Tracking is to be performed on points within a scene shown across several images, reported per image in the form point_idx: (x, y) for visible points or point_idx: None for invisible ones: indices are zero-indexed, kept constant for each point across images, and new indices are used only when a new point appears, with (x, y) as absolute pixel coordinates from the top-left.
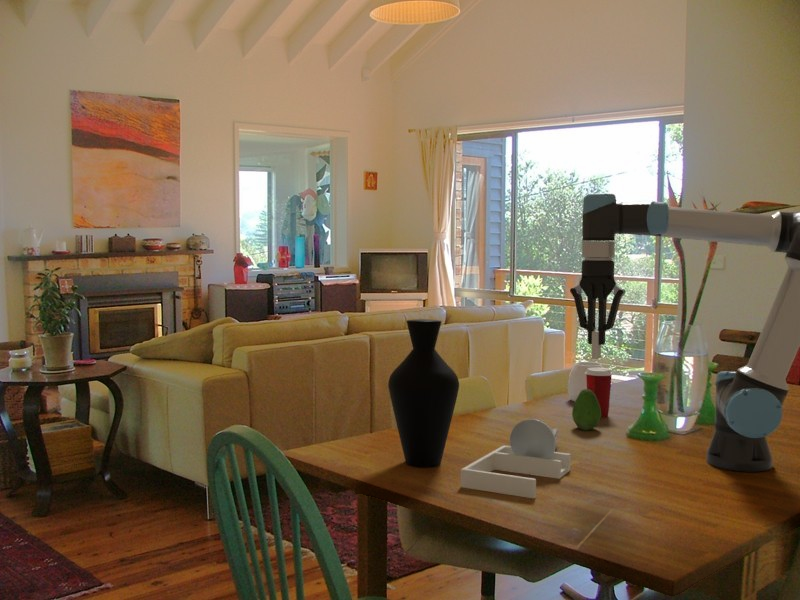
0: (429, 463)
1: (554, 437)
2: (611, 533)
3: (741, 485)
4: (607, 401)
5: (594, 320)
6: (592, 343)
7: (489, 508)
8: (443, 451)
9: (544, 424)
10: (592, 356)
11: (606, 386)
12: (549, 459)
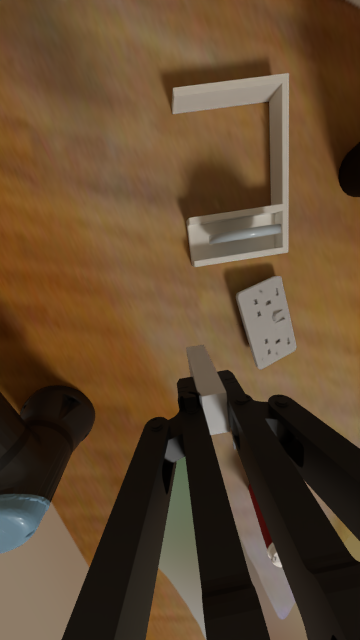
0: (351, 150)
1: (214, 241)
2: (14, 7)
3: (11, 330)
4: (255, 507)
5: (244, 458)
6: (211, 367)
7: (198, 11)
8: (350, 178)
9: (234, 232)
10: (202, 348)
11: (264, 526)
12: (205, 219)
